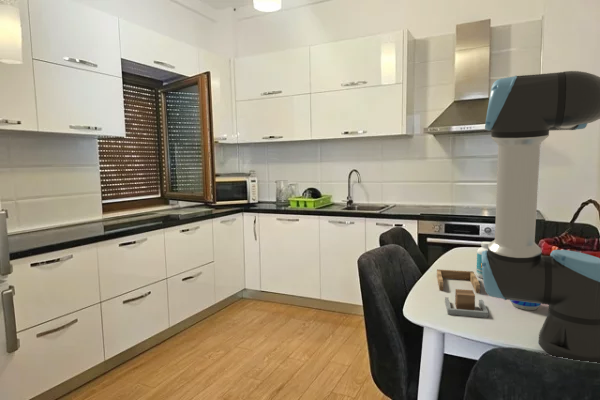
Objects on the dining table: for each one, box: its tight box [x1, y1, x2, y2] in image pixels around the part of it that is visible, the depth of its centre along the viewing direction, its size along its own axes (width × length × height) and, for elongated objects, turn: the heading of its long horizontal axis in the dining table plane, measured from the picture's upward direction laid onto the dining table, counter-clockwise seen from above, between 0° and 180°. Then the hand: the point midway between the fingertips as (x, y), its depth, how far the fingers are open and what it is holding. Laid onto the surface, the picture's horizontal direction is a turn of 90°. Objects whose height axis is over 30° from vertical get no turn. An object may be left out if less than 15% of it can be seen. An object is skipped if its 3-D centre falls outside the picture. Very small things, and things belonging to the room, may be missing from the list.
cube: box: [454, 288, 476, 310], centre depth 120 cm, size 5×5×5 cm
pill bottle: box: [475, 241, 492, 279], centre depth 150 cm, size 8×7×14 cm
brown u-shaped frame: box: [436, 269, 481, 294], centre depth 142 cm, size 16×13×3 cm
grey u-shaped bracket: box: [444, 296, 489, 319], centre depth 119 cm, size 10×11×2 cm
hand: (510, 219), depth 135 cm, fingers closed
